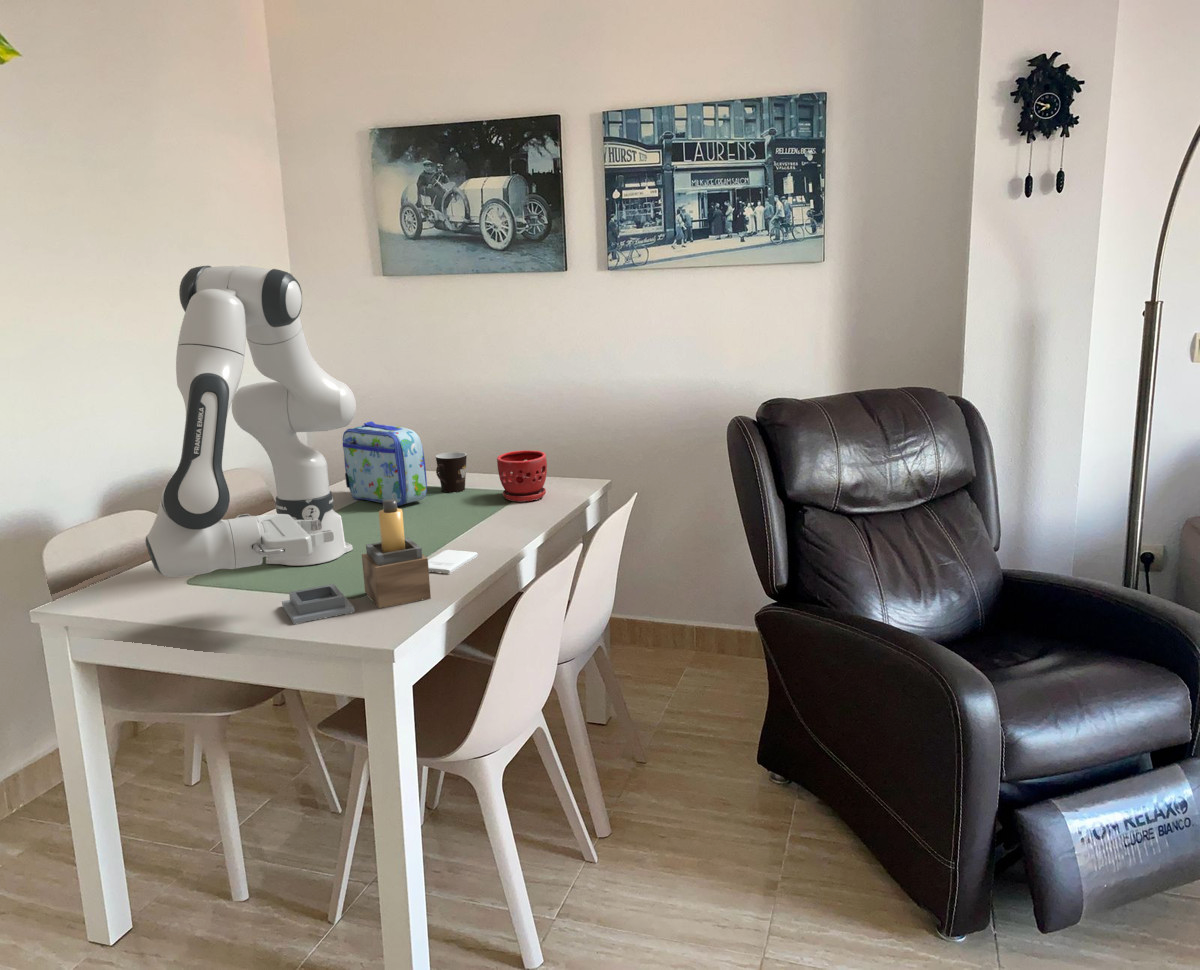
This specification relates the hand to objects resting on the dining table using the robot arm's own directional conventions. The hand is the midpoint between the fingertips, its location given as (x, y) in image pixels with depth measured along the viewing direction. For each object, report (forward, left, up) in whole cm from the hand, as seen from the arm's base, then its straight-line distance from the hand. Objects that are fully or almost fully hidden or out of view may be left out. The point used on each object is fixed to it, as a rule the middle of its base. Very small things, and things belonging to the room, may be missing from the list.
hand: (326, 529), depth 178 cm
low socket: (-1, -3, -15) cm, 16 cm away
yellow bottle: (0, +12, -7) cm, 14 cm away
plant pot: (-57, +64, -16) cm, 87 cm away
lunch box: (-77, +32, -16) cm, 85 cm away
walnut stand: (0, +12, -15) cm, 20 cm away
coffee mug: (-77, +50, -16) cm, 93 cm away
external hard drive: (-14, +27, -16) cm, 35 cm away
